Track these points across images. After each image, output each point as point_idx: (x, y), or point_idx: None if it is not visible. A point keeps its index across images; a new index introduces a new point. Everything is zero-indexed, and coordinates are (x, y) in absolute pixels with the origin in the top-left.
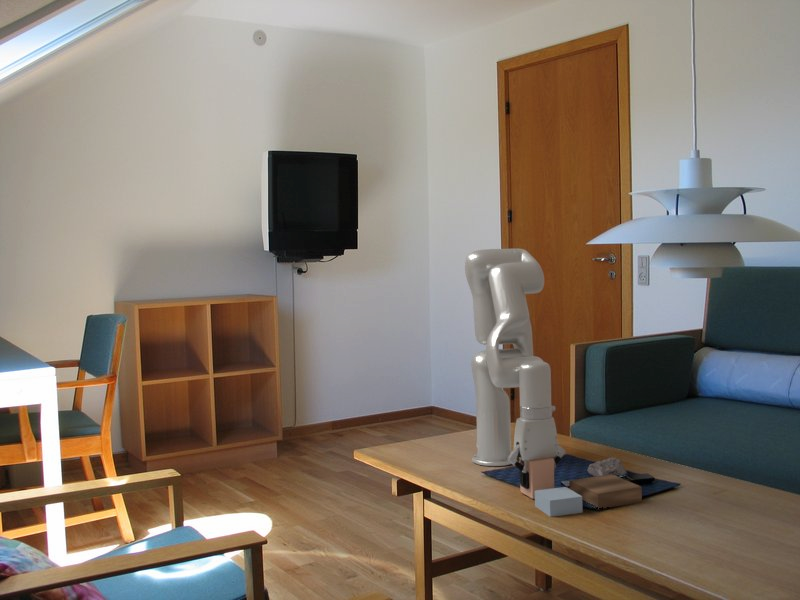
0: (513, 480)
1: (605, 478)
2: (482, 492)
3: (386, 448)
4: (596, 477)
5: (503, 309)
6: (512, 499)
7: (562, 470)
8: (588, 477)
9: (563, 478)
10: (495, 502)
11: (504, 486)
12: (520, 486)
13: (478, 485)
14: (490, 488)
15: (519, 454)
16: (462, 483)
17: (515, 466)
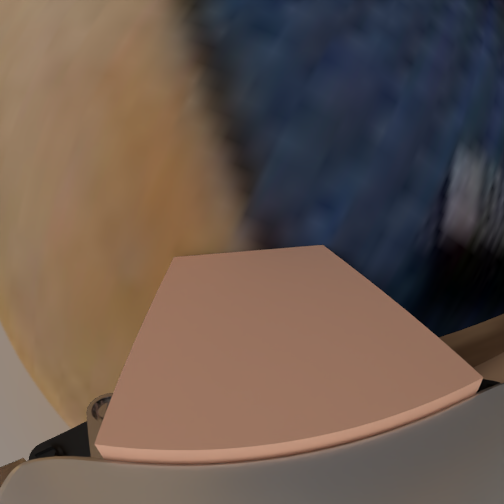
0: (249, 12)
1: (501, 379)
2: (10, 168)
3: None
4: (498, 365)
5: None
6: (104, 330)
7: (490, 44)
8: (487, 360)
9: (474, 124)
10: (33, 332)
11: (143, 91)
12: (168, 270)
13: (41, 49)
14: (61, 108)
15: (81, 488)
16: (11, 18)
17: (62, 444)
